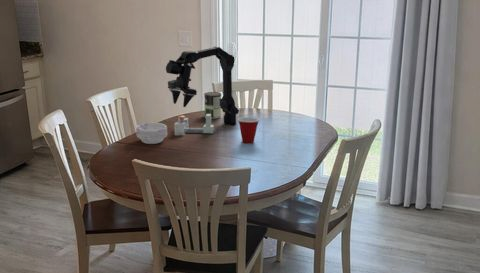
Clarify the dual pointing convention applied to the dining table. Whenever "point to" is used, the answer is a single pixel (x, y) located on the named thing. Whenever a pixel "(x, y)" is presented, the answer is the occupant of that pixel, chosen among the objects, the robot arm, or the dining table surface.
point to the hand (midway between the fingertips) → (179, 105)
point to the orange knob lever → (181, 118)
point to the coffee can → (213, 104)
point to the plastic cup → (248, 129)
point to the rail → (196, 130)
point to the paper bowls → (151, 132)
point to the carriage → (208, 125)
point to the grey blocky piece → (181, 127)
